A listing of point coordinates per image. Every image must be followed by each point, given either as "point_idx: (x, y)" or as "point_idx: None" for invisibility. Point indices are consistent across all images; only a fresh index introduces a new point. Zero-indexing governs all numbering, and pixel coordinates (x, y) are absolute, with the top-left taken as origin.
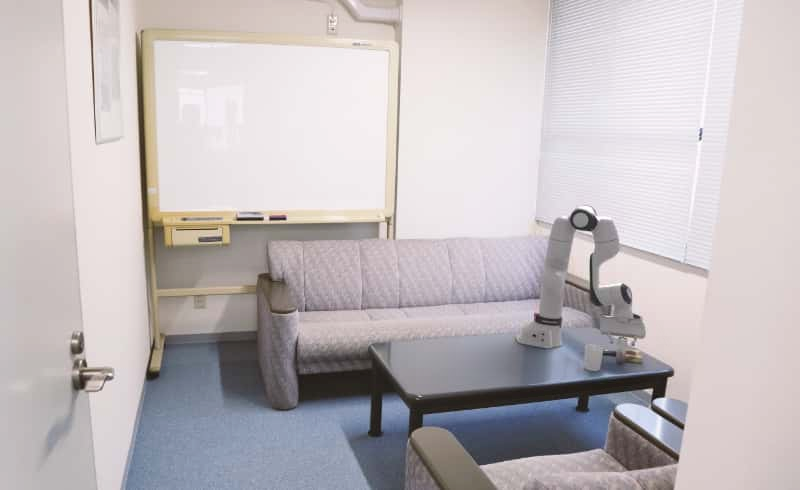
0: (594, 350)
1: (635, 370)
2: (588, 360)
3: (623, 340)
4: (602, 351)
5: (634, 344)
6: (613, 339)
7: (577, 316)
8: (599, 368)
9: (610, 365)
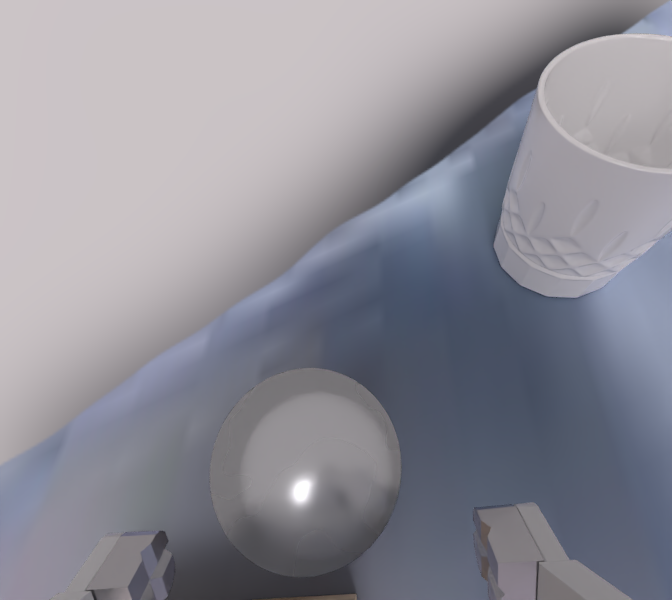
0: (613, 35)
1: (233, 360)
2: (608, 145)
3: (300, 374)
4: (535, 95)
5: (115, 535)
6: (492, 551)
7: None
8: (498, 225)
9: (428, 381)
